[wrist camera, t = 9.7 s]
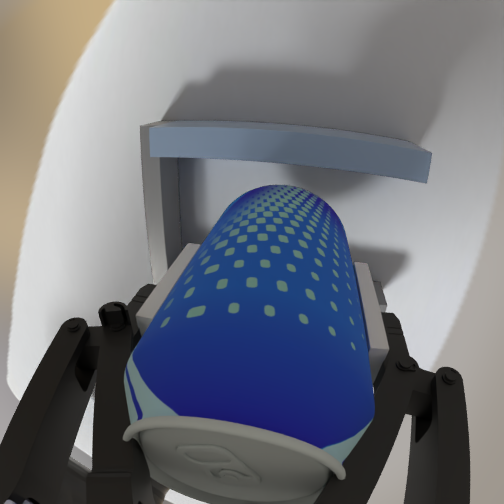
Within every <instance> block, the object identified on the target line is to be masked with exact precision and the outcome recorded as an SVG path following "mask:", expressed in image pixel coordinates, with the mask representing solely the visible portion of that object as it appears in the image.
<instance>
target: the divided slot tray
mask: <svg viewBox="0 0 504 504" xmlns="http://www.w3.org/2000/svg"><path fill="white" fill-rule="evenodd" d="M140 139H141V161H142V178H143V192H144V205H145V216H146V226H147V236H148V245H149V253H150V261H151V269H152V277H153V284H154V285H157V284H158V283H159V282H160V280H161V279H162V278H163V276H164V275H165V274H166V272H167V271H168V269H169V268H170V267H171V265H172V264H173V263H174V261H175V260H176V259H177V257H178V256H179V255H180V253H181V252H182V242H181V225H180V205H179V179H178V157H182V158H210V159H230V160H246V161H260V162H272V163H284V164H294V165H304V166H313V167H322V168H330V169H338V170H346V171H353V172H361V173H367V174H374V175H381V176H387V177H393V178H399V179H405V180H410V181H416V182H421V183H427V180H428V175H429V169H430V163H431V157H432V153H431V152H429V151H427V150H425V149H423V148H421V147H419V146H417V145H415V144H413V143H411V142H409V141H405V140H400V139H394V138H389V137H383V136H377V135H371V134H365V133H358V132H352V131H344V130H337V129H329V128H320V127H311V126H301V125H290V124H278V123H263V122H244V121H210V120H180V121H158V122H154V123H150V124H146V125H142V126H140ZM373 285H374V288H375V292H376V296H377V300H378V303H379V307H380V311H381V312H385V311H386V308H387V303H386V300H385V296H384V293H383V290H382V286H381V283H380V282H374V281H373Z"/></svg>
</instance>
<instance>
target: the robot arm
mask: <svg viewBox="0 0 504 504" xmlns="http://www.w3.org/2000/svg"><path fill="white" fill-rule="evenodd" d="M200 246H201V244H192V243H188V244H187V245H186V247H185V248H184V249H183V251H182V252H181V253H180V255H179V256H178V257H177V259H176V260H175V261H174V263H173V264H172V265H171V267H170V268H169V269H168V271H167V272H166V274H165V275H164V276H163V278H162V279H161V280H160V282H159V283H158V284H157V285H153V284H147V285H145V286H144V287H142V288H141V289H140V290H139V291H138V292H137V294H136V296H134V298H133V299H132V301H131V302H130V303H129V304H128V305H127V306H126V305H125V304H124V303H121V302H110V303H107V304H105V305H103V306H102V307H101V308H100V309H99V311H98V314H99V317H100V320H101V324H102V326H94V327H88V326H87V323H86V321H85V320H84V319H82V318H71V319H69V320H67V321H65V322H64V323H63V324H62V326H61V327H60V329H59V331H58V332H57V334H56V336H55V337H54V339H53V341H52V343H51V344H50V346H49V348H48V350H47V351H46V353H45V355H44V357H43V358H42V360H41V362H40V364H39V366H38V368H37V369H36V371H35V373H34V375H33V377H32V379H31V381H30V383H29V385H28V387H27V389H26V391H25V393H24V395H23V397H22V399H21V401H20V403H19V405H18V407H17V409H16V411H15V413H14V415H13V417H12V420H11V422H10V424H9V426H8V428H7V431H6V433H5V435H4V437H3V440H2V442H1V444H0V504H163V501H164V498H165V495H166V493H167V492H168V490H169V489H170V488H168V487H166V486H164V485H162V484H160V483H159V482H157V481H155V480H154V479H152V478H151V477H150V470H149V467H148V464H147V461H146V458H145V456H144V453H143V451H142V448H141V446H140V445H139V443H138V441H137V440H136V439H134V438H131V439H130V440H129V441H124V440H123V435H124V432H125V431H126V429H127V428H128V426H130V425H131V422H130V417H129V412H128V406H127V400H126V393H125V386H124V373H125V368H126V365H127V362H128V360H129V358H130V356H131V354H132V352H133V350H134V349H135V347H136V346H137V344H138V342H139V341H140V339H141V338H142V336H143V334H144V333H145V331H146V329H147V328H148V326H149V325H150V323H151V322H152V320H153V318H154V317H155V315H156V314H157V312H158V310H159V309H160V307H161V306H162V304H163V303H164V301H165V300H166V298H167V296H168V295H169V293H170V292H171V290H172V289H173V287H174V286H175V284H176V283H177V281H178V280H179V278H180V276H181V275H182V273H183V272H184V270H185V269H186V267H187V266H188V264H189V263H190V261H191V260H192V258H193V257H194V255H195V254H196V252H197V251H198V249H199V248H200ZM353 270H354V274H355V279H356V284H357V290H358V295H359V300H360V306H361V311H362V317H363V323H364V329H365V335H366V342H367V348H368V355H369V362H370V369H371V377H372V385H373V387H374V402H375V413H374V417H373V420H372V421H371V423H370V425H369V426H368V428H367V429H366V431H365V432H364V434H363V435H362V437H361V438H360V440H359V441H358V442H357V444H356V445H355V447H354V448H353V449H352V451H351V452H350V453H349V455H348V456H347V457H346V459H345V460H344V462H343V464H342V466H343V467H344V469H345V472H346V476H345V479H343V480H340V479H338V478H337V476H336V474H335V473H334V474H333V475H332V477H331V478H330V480H329V481H328V483H327V484H326V486H325V487H324V489H323V490H322V492H321V493H320V495H319V496H318V498H317V499H316V501H315V502H314V504H367V502H368V500H369V498H370V496H371V494H372V492H373V490H374V488H375V486H376V484H377V482H378V479H379V477H380V475H381V473H382V471H383V468H384V466H385V464H386V461H387V459H388V457H389V455H390V452H391V450H392V447H393V445H394V442H395V440H396V437H397V435H398V432H399V429H400V427H401V424H402V421H403V418H404V415H405V414H409V415H412V425H411V442H410V455H409V466H408V476H407V484H406V492H405V499H404V504H470V451H469V450H470V449H469V432H468V421H467V410H466V402H465V393H464V386H463V379H462V377H461V375H460V374H459V372H458V371H456V370H455V369H453V368H450V367H442V368H439V369H438V371H437V372H436V373H433V372H429V371H426V370H423V369H420V368H419V366H418V363H417V362H416V361H415V360H414V359H413V358H412V357H410V356H409V352H408V349H407V345H406V341H405V338H404V335H403V331H402V329H401V324H400V321H399V319H398V318H397V317H396V316H395V314H394V313H385V312H381V311H380V307H379V303H378V300H377V296H376V292H375V288H374V285H373V281H372V277H371V274H370V270H369V267H368V263H361V262H354V265H353ZM95 383H96V388H95V402H94V418H93V448H92V459H93V460H92V465H93V466H92V470H90V469H89V468H87V467H85V466H84V465H82V464H81V463H79V462H78V461H76V460H75V459H73V458H72V457H70V455H71V452H72V448H73V445H74V442H75V439H76V436H77V433H78V430H79V427H80V424H81V421H82V419H83V416H84V413H85V410H86V407H87V405H88V402H89V399H90V396H91V394H92V391H93V388H94V386H95Z"/></svg>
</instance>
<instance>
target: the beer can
mask: <svg viewBox="0 0 504 504" xmlns="http://www.w3.org/2000/svg"><path fill="white" fill-rule="evenodd" d="M124 386H125V393H126V400H127V406H128V412H129V417H130V422H131V425H130V426H128V428H127V429H126V431H125V432H124V435H123V440H124V441H129V440H130V439H131V438H134V439H136V440H137V441H138V443H139V445H140V446H141V448H142V451H143V453H144V456H145V458H146V461H147V464H148V467H149V470H150V477H151V478H152V479H154V480H155V481H157V482H159V483H160V484H162V485H164V486H166V487H168V488H170V489H172V490H174V491H176V492H178V493H181V494H183V495H185V496H188V497H191V498H193V499H196V500H199V501H202V502H206V503H209V504H314V502H315V501H316V499H317V498H318V496H319V495H320V493H321V492H322V490H323V489H324V487H325V486H326V484H327V483H328V481H329V480H330V478H331V477H332V475H333V474H334V473H335V474H336V476H337V478H338V479H340V480H343V479H345V476H346V472H345V469H344V467H343V466H342V464H343V462H344V460H345V459H346V457H347V456H348V455H349V453H350V452H351V451H352V449H353V448H354V447H355V445H356V444H357V442H358V441H359V440H360V438H361V437H362V435H363V434H364V432H365V431H366V429H367V428H368V426H369V425H370V423H371V421H372V420H373V417H374V413H375V402H374V394H373V385H372V377H371V369H370V362H369V355H368V348H367V342H366V335H365V329H364V323H363V317H362V311H361V306H360V300H359V295H358V290H357V284H356V279H355V274H354V270H353V265H352V260H351V255H350V251H349V246H348V242H347V237H346V233H345V230H344V227H343V225H342V223H341V221H340V219H339V217H338V216H337V214H336V213H335V212H334V210H333V209H332V208H331V207H330V206H329V205H328V204H327V203H326V202H325V201H324V200H322V199H321V198H320V197H318V196H317V195H315V194H313V193H311V192H309V191H307V190H304V189H301V188H298V187H294V186H288V185H268V186H263V187H259V188H256V189H253V190H251V191H248V192H246V193H245V194H243V195H241V196H240V197H238V198H237V199H236V200H234V201H233V202H232V203H231V204H230V205H229V206H228V207H227V209H226V210H225V211H224V213H223V214H222V216H221V217H220V218H219V220H218V221H217V223H216V224H215V226H214V227H213V229H212V230H211V232H210V233H209V235H208V236H207V237H206V239H205V240H204V242H203V243H202V245H201V246H200V248H199V249H198V251H197V252H196V254H195V255H194V257H193V258H192V260H191V261H190V263H189V264H188V266H187V267H186V269H185V270H184V272H183V273H182V275H181V276H180V278H179V280H178V281H177V283H176V284H175V286H174V287H173V289H172V290H171V292H170V293H169V295H168V296H167V298H166V300H165V301H164V303H163V304H162V306H161V307H160V309H159V310H158V312H157V314H156V315H155V317H154V318H153V320H152V322H151V323H150V325H149V326H148V328H147V329H146V331H145V333H144V334H143V336H142V338H141V339H140V341H139V342H138V344H137V346H136V347H135V349H134V350H133V352H132V354H131V356H130V358H129V360H128V362H127V365H126V368H125V373H124Z"/></svg>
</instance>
